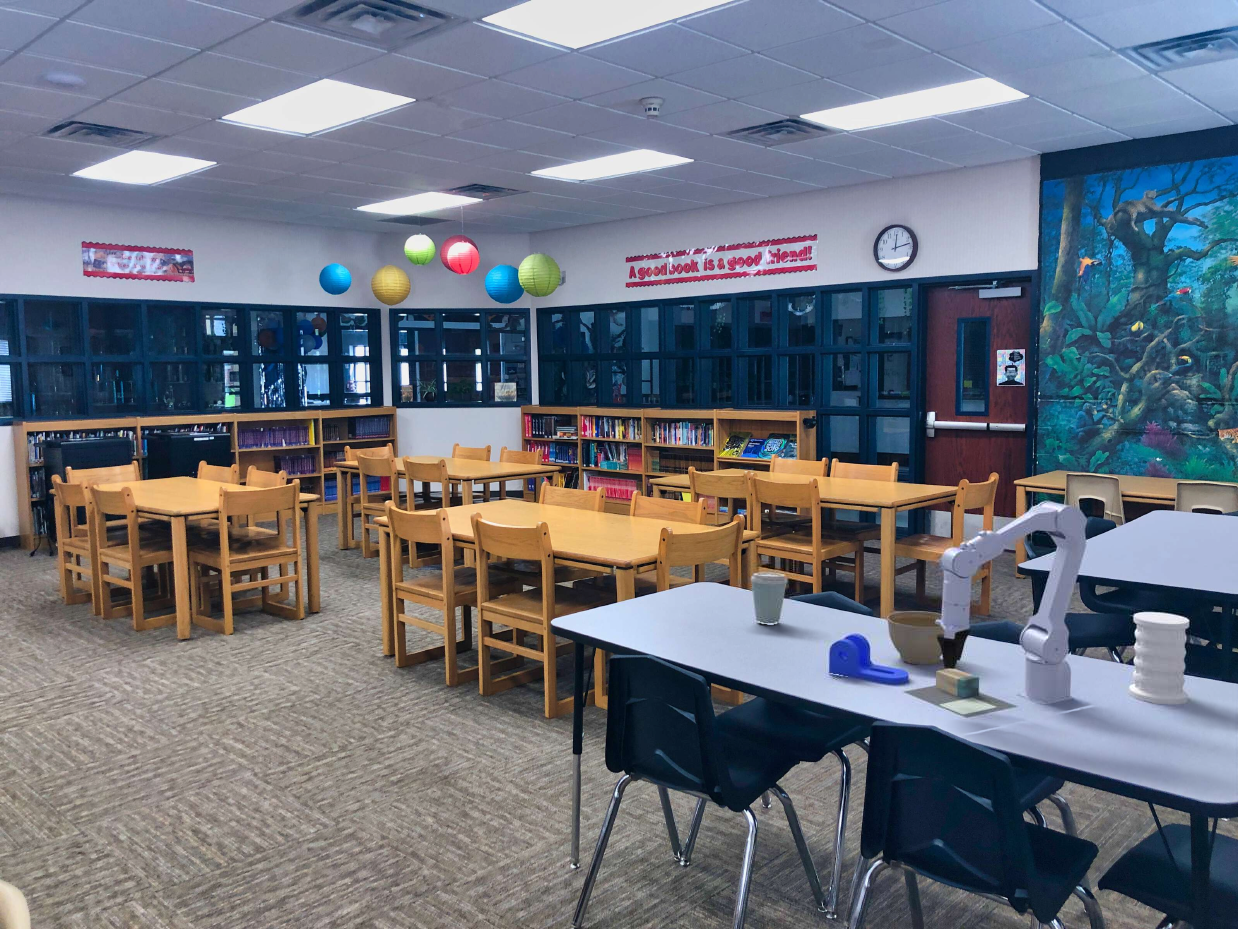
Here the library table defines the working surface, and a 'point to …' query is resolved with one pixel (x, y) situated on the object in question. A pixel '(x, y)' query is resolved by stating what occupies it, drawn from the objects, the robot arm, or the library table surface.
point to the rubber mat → (960, 701)
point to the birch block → (957, 683)
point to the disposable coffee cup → (768, 596)
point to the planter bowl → (916, 636)
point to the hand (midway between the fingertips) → (952, 663)
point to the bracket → (861, 662)
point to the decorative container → (1159, 658)
